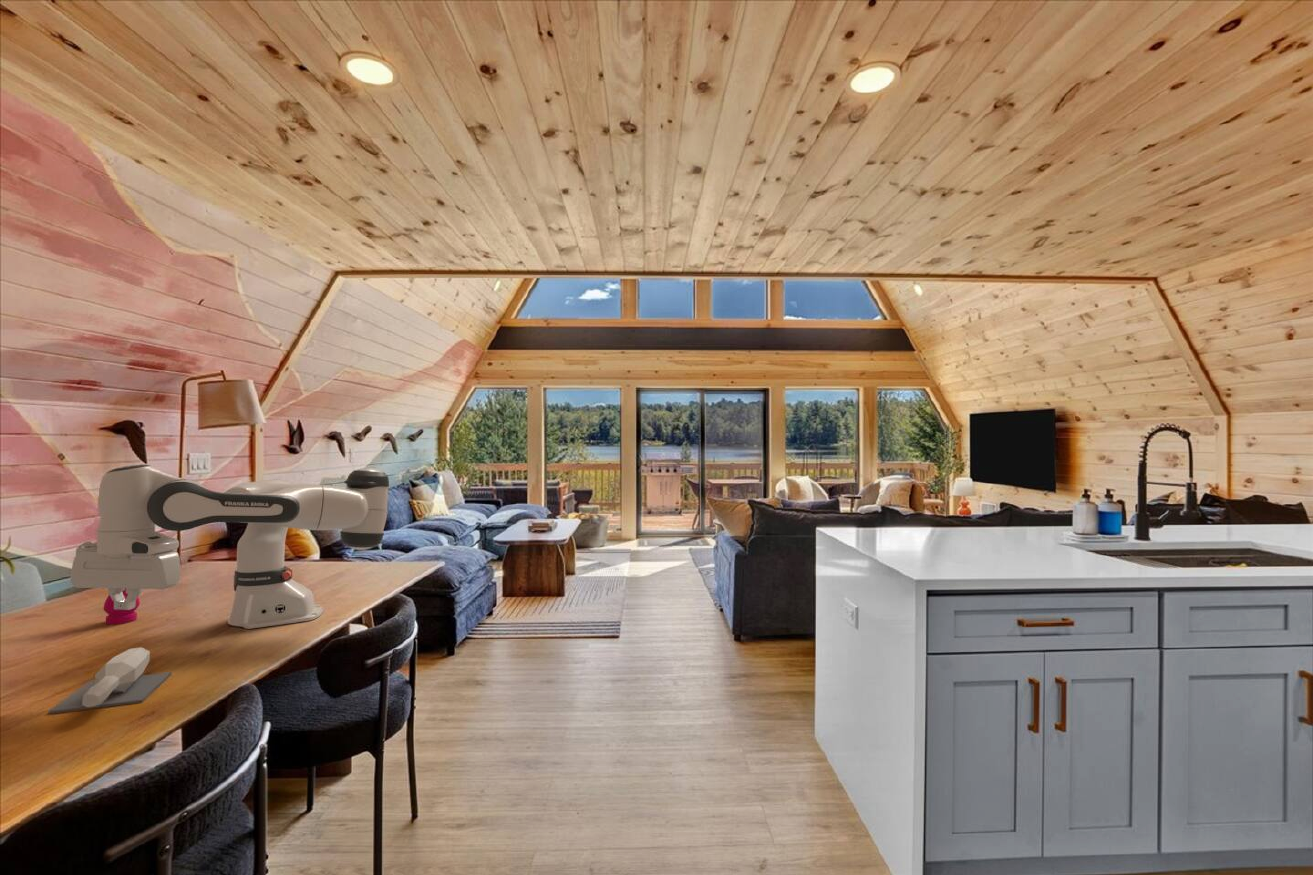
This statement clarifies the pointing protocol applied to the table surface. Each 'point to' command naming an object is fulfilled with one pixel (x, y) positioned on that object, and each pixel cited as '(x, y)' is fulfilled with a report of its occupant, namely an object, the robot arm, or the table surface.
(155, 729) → the table surface
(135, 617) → the pepper mill
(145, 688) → the grey square plate
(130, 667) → the low poly bottle
